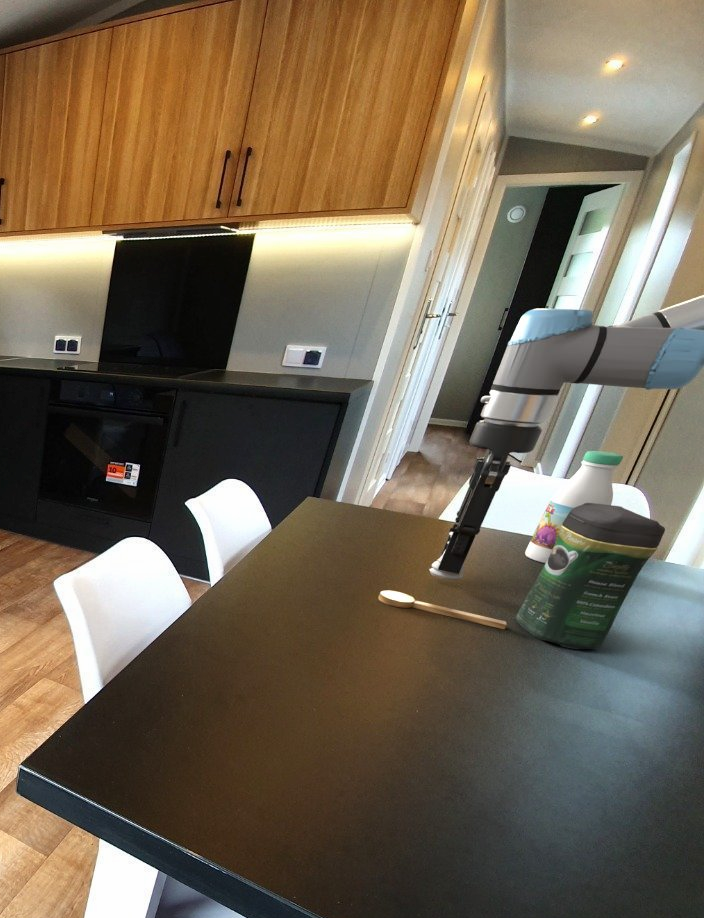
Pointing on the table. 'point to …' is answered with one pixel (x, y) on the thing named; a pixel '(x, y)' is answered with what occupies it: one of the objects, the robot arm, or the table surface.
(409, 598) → the wooden spoon
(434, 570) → the rook chess piece
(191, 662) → the table surface
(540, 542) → the milk bottle
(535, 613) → the coffee jar
